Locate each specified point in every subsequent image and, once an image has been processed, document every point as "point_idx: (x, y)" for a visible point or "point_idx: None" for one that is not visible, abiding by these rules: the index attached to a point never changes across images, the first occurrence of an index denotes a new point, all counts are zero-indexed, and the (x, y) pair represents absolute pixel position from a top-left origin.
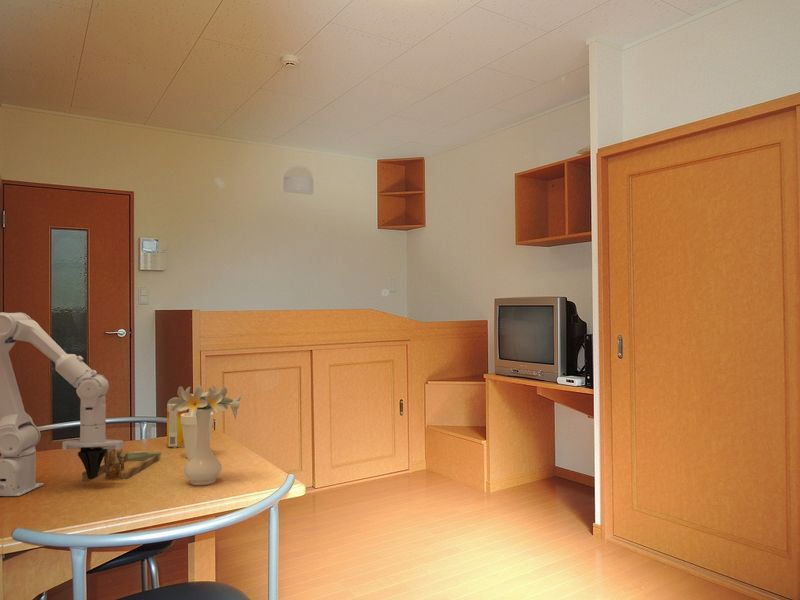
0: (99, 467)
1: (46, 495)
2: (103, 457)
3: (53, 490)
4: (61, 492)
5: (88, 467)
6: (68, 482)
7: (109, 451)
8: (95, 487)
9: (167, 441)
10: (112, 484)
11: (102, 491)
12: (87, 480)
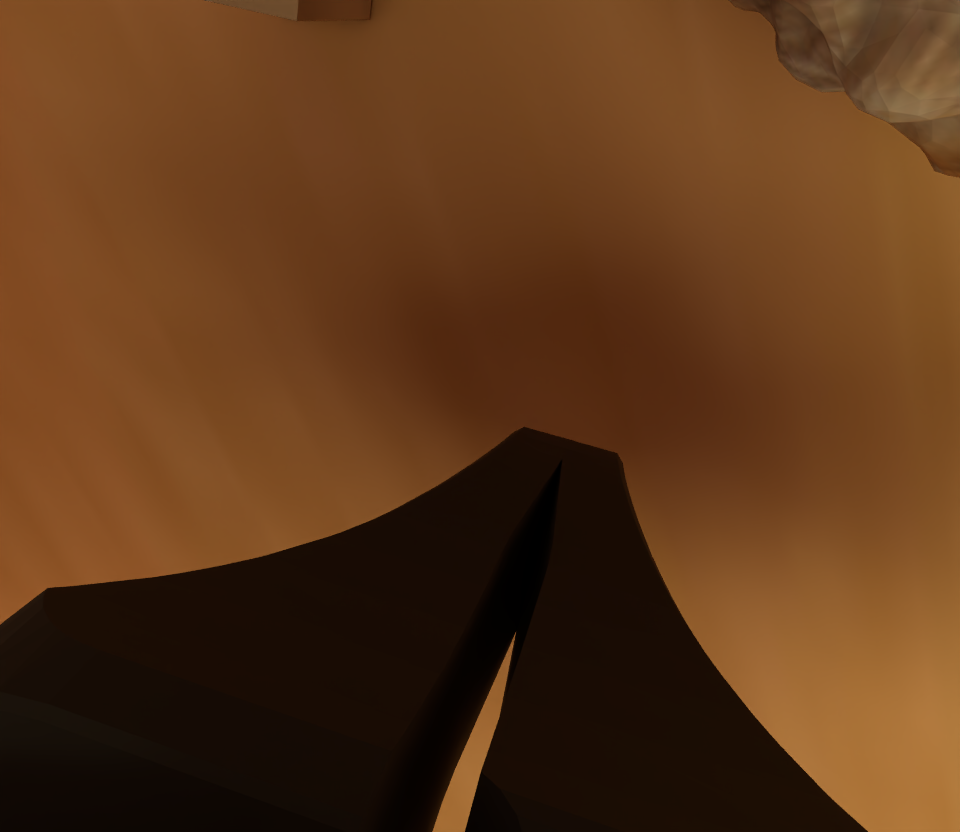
0: (643, 537)
1: None
2: (746, 710)
3: (110, 455)
4: None
5: (455, 765)
6: (77, 51)
7: (940, 110)
8: (634, 472)
9: None
10: (901, 370)
11: (791, 695)
12: (356, 15)
